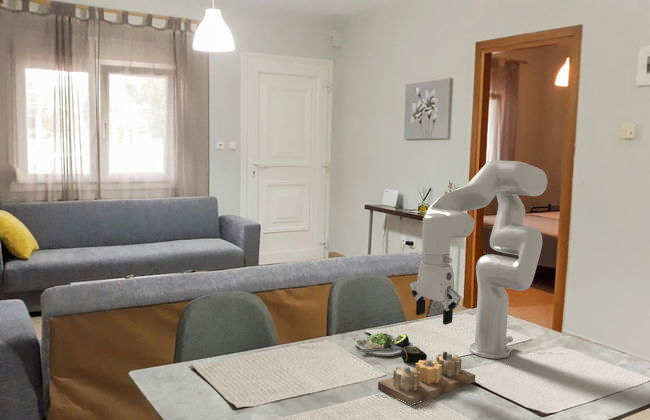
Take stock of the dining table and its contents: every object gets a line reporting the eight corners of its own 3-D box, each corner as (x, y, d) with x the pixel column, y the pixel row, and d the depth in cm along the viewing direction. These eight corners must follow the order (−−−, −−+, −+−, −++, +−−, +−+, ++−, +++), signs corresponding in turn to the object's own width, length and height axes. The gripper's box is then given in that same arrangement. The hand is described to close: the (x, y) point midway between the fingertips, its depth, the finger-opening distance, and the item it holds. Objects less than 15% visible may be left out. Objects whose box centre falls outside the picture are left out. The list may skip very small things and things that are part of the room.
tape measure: (427, 364, 175) (428, 352, 175) (406, 366, 173) (407, 354, 173) (417, 356, 182) (417, 344, 181) (397, 358, 179) (397, 346, 179)
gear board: (442, 367, 172) (443, 341, 171) (475, 381, 163) (476, 354, 162) (377, 389, 156) (379, 360, 155) (410, 405, 147) (411, 375, 146)
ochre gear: (427, 371, 164) (427, 357, 164) (446, 379, 159) (446, 365, 159) (410, 376, 160) (410, 363, 160) (429, 385, 155) (429, 371, 154)
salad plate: (377, 364, 174) (378, 350, 174) (341, 347, 188) (341, 333, 188) (423, 352, 186) (423, 338, 185) (385, 336, 200) (385, 323, 199)
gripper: (470, 262, 154) (467, 324, 157) (421, 251, 168) (419, 308, 170) (451, 267, 150) (449, 330, 152) (403, 255, 163) (401, 313, 166)
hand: (433, 318), depth 161 cm, fingers open, 9 cm apart
